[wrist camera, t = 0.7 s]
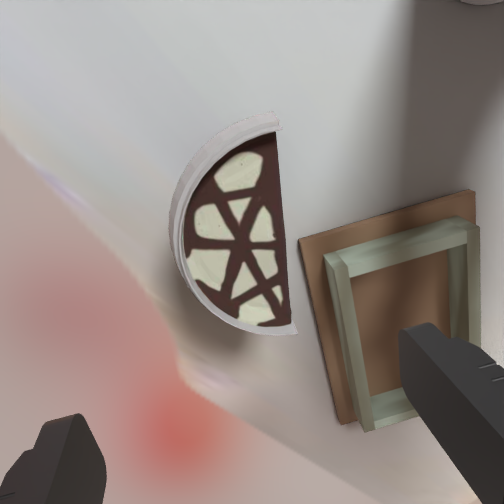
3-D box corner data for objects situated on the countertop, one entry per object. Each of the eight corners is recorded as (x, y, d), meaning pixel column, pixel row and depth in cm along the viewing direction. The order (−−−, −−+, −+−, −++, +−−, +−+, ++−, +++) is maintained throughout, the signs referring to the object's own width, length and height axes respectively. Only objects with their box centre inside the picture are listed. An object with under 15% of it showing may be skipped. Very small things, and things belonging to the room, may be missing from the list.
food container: (158, 113, 26) (140, 133, 17) (250, 101, 27) (281, 114, 18) (190, 278, 31) (190, 361, 22) (267, 266, 32) (298, 342, 23)
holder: (468, 189, 32) (499, 202, 28) (472, 378, 40) (496, 404, 37) (298, 239, 31) (310, 257, 28) (338, 418, 40) (350, 448, 37)
